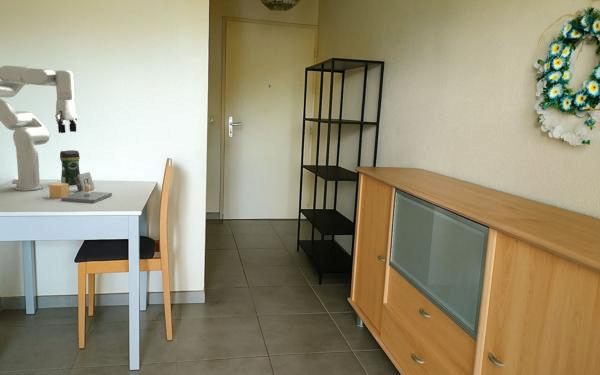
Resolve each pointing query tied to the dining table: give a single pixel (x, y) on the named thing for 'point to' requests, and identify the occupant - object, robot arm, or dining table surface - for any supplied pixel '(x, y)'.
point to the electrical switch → (84, 181)
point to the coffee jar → (69, 166)
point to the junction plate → (86, 196)
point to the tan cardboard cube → (58, 190)
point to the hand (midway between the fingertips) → (67, 132)
